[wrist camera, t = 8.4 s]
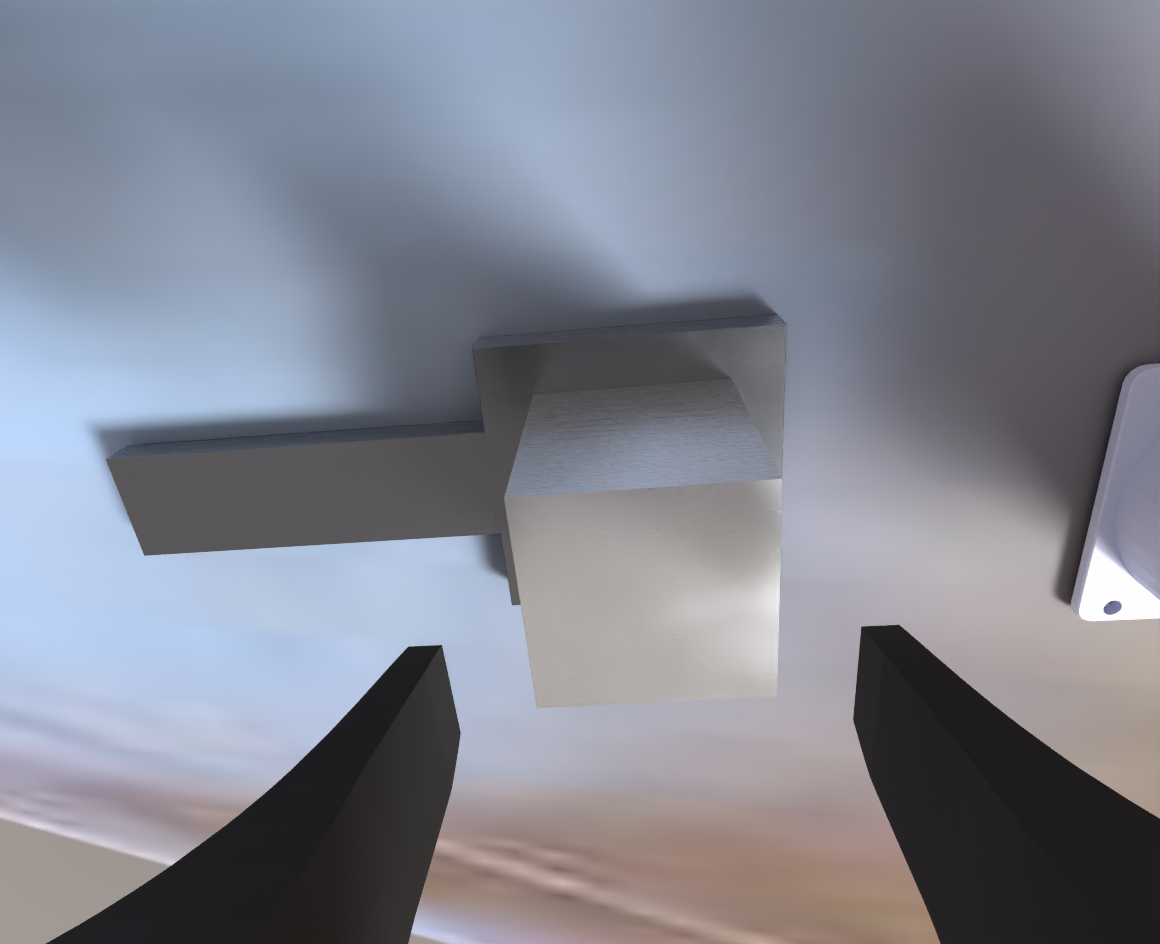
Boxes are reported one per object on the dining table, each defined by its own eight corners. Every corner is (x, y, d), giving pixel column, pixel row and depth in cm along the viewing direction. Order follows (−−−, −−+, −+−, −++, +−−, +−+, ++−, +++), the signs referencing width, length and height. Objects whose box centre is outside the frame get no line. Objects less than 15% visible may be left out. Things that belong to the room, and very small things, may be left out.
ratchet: (776, 313, 19) (817, 357, 15) (770, 568, 23) (803, 656, 19) (97, 368, 21) (-19, 421, 17) (186, 601, 24) (107, 690, 20)
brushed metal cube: (731, 378, 19) (782, 478, 13) (732, 550, 21) (776, 696, 16) (533, 394, 19) (504, 497, 14) (554, 561, 21) (536, 707, 16)
